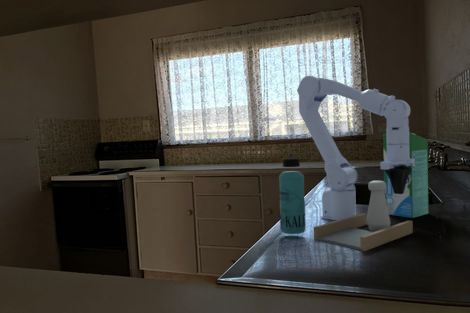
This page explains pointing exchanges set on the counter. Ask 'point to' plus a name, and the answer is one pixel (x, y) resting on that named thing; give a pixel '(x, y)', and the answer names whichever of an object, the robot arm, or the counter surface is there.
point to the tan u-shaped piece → (359, 233)
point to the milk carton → (410, 182)
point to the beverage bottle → (292, 199)
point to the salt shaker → (377, 207)
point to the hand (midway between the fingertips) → (398, 193)
